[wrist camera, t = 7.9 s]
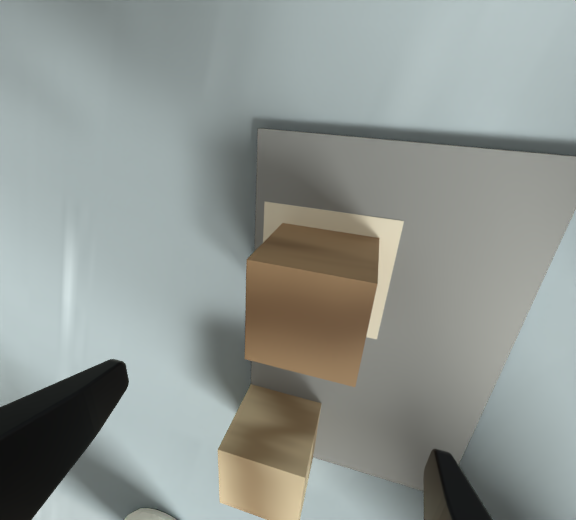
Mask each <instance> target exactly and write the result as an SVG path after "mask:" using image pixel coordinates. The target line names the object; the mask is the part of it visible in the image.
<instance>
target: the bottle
mask: <svg viewBox="0 0 576 520" xmlns="http://www.w3.org/2000/svg"><path fill="white" fill-rule="evenodd" d="M124 520H177V519H175V518H173V517H172V516H170V515H168V514H166V513H163V512H161V511H159V510H155V509H150V508H140V509H138V510H136V511H134V512H132V513H131V514H129V515H127V517H126V518H125V519H124Z"/></svg>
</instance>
